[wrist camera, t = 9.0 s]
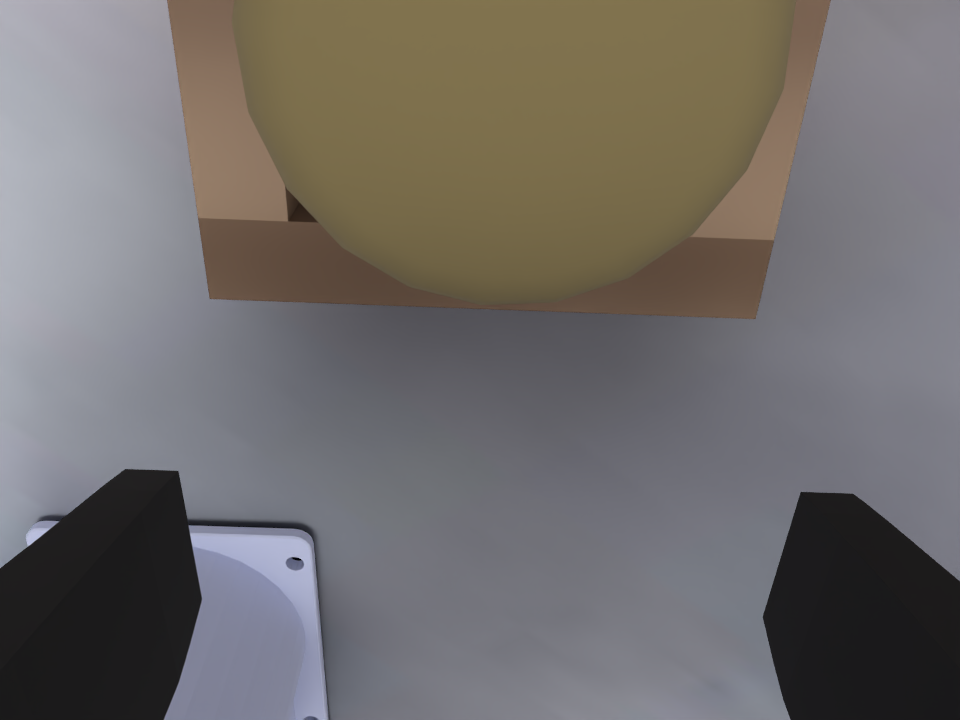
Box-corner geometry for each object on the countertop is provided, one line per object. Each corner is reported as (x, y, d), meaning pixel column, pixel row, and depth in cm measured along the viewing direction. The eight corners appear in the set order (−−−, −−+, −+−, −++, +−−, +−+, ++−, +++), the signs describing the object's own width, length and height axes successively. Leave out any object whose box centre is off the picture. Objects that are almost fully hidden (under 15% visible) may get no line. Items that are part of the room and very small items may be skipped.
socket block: (718, 260, 19) (755, 319, 16) (247, 242, 19) (209, 298, 16) (841, -353, 13) (927, -410, 11) (177, -386, 13) (102, -454, 11)
